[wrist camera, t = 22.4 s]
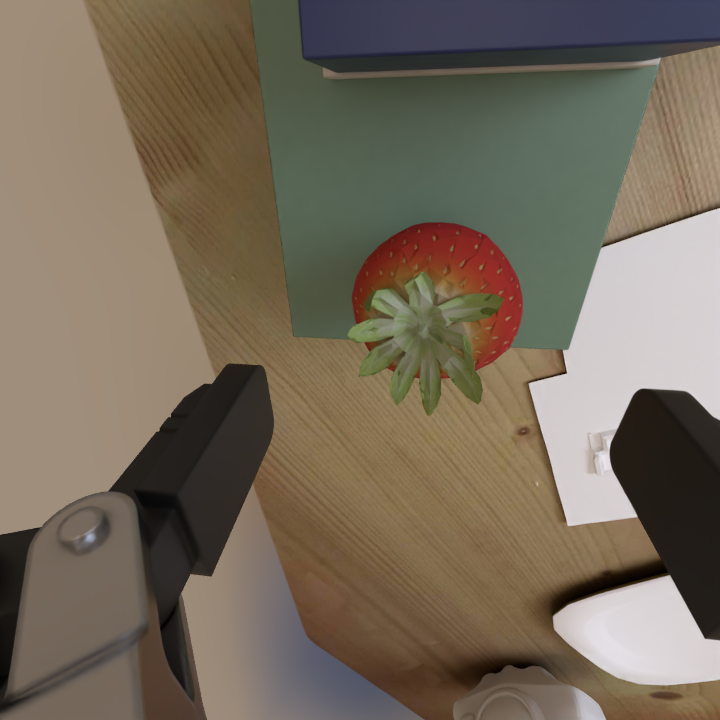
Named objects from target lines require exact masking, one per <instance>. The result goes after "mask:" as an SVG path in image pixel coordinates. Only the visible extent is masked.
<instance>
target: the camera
mask: <svg viewBox="0 0 720 720" xmlns="http://www.w3.org/2000/svg"><path fill="white" fill-rule="evenodd" d="M453 715H454V720H606V719H605V716H604V714H603V712H602V710H601V708H600V706H599V704H598V703H597V702H595V701H594V700H593V699H592V698H591V697H589V696H588V695H587V694H585V693H584V692H582V691H581V690H579V689H577V688H575V687H573V686H570V685H568V684H565V683H562V682H560V681H557V680H556V679H555V678H554V676H553V675H551V674H550V673H549V672H548V671H546V670H545V669H543V668H542V667H539V666H530V667H528V668H525V669H518V668H516V667H514V666H512V665H507V666H505V667H504V668H503V670H502V671H500V672H499V673H497V674H494V673H489V674H486V675H484V677H483V678H482V680H481V681H480V683H479V684H478V685H477V686H476V687H475V688H474V689H473V690H471V691H470V692H468V693H467V694H466V695H464V696H463V697H461V698H460V699H459V700H457V701H456V702H455V703H454V707H453Z"/></svg>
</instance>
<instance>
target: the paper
mask: <svg viewBox="0 0 720 720" xmlns="http://www.w3.org/2000/svg"><path fill="white" fill-rule="evenodd" d="M563 354H564V360H565V365H566V370H567V374H564V375H559V376H555V377H551V378H547V379H543V380H539V381H535V382H531V383H528V384H529V388H530V391H531V395H532V399H533V403H534V406H535V410H536V413H537V417H538V421H539V424H540V427H541V431H542V434H543V438H544V441H545V444H546V447H547V451H548V454H549V458H550V461H551V465H552V469H553V474H554V478H555V481H556V485H557V489H558V492H559V496H560V499H561V502H562V506H563V509H564V513H565V516H566V520H567V524H568V526H573V525H580V524H588V523H596V522H603V521H611V520H619V519H626V518H634V517H638V516H637V514H636V512H635V510H634V509H633V507H632V505H631V503H630V501H629V499H628V498H627V496H626V494H625V492H624V490H623V488H622V487H621V485H620V483H619V481H618V479H617V478H616V476H615V474H614V472H613V470H612V467H611V463H610V455H609V453H610V445H611V442H612V439H613V437H614V435H615V433H616V431H617V429H618V427H619V424H620V422H621V420H622V418H623V416H624V414H625V411H626V409H627V407H628V405H629V403H630V401H631V399H632V397H633V395H634V394H635V392H637V391H638V390H639V389H643V388H646V389H663V390H680V391H686V392H688V393H690V394H691V395H692V396H693V397H694V398H695V399H696V400H697V401H698V402H699V403H700V404H701V405H702V406H703V407H704V408H705V409H706V410H707V411H708V412H709V413H710V414H711V415H712V416H713V417H714V418H717V419H718V420H720V208H718V209H715V210H712V211H709V212H706V213H703V214H700V215H696V216H693V217H690V218H687V219H684V220H681V221H678V222H675V223H672V224H669V225H667V226H664V227H661V228H658V229H655V230H652V231H649V232H646V233H643V234H640V235H637V236H635V237H632V238H629V239H626V240H623V241H620V242H617V243H614V244H611V245H608V246H606V247H603V248H601V250H600V253H599V256H598V259H597V262H596V265H595V269H594V272H593V275H592V278H591V281H590V284H589V287H588V290H587V294H586V297H585V300H584V303H583V306H582V309H581V312H580V315H579V319H578V322H577V325H576V328H575V331H574V334H573V337H572V340H571V344H570V347H569V349H568V350H563Z"/></svg>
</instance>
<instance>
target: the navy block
mask: <svg viewBox="0 0 720 720" xmlns="http://www.w3.org/2000/svg"><path fill="white" fill-rule="evenodd" d="M298 9H299V21H300V33H301V45H302V56H303V59H304V60H307V61H309V62H311V63H314V64H316V65H319V66H321V67H323V77H325V78H327V79H355V78H382V77H410V76H437V75H464V74H492V73H519V72H546V71H574V70H601V69H628V68H645V67H650V66H656V65H658V64H659V62H660V59H661V58H662V57H666V56H671V55H676V54H680V53H685V52H690V51H695V50H699V49H704V48H709V47H714V46H718V45H720V0H298Z"/></svg>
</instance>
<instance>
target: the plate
mask: <svg viewBox="0 0 720 720" xmlns="http://www.w3.org/2000/svg"><path fill="white" fill-rule="evenodd" d="M552 616H553V626H554V630H555V631H556V632H557V633H558V634H559V635H560V636H561V637H562V638H563V639H564V640H565V641H566V642H567V643H568V644H569V645H570V646H572V647H573V648H574V649H575V650H577V651H578V652H579V653H581V654H582V655H583V656H584V657H586V658H587V659H589V660H590V661H591V662H593V663H594V664H595V665H597V666H598V667H599V668H601V669H603V670H605V671H606V672H608V673H610V674H612V675H613V676H615V677H617V678H620V679H623V680H627V681H630V682H634V683H637V684H649V685H675V684H686V683H698V682H705V681H713V680H720V641H719V640H711V639H705V638H704V636H703V635H702V633H701V631H700V629H699V627H698V626H697V624H696V622H695V620H694V618H693V616H692V615H691V613H690V611H689V609H688V607H687V605H686V604H685V602H684V600H683V598H682V596H681V594H680V593H679V591H678V589H677V587H676V585H675V583H674V582H673V580H672V578H671V576H670V574H669V573H664V574H660V575H656V576H653V577H649V578H645V579H641V580H637V581H633V582H630V583H626V584H623V585H619V586H616V587H612V588H608V589H605V590H601V591H598V592H595V593H592V594H589V595H587V596H584V597H581V598H578V599H576V600H573V601H570V602H568V603H567V604H566V605H564V606H563V607H562V608H560V609H559V610H558V611H556V612H555V613H554V614H552Z"/></svg>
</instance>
